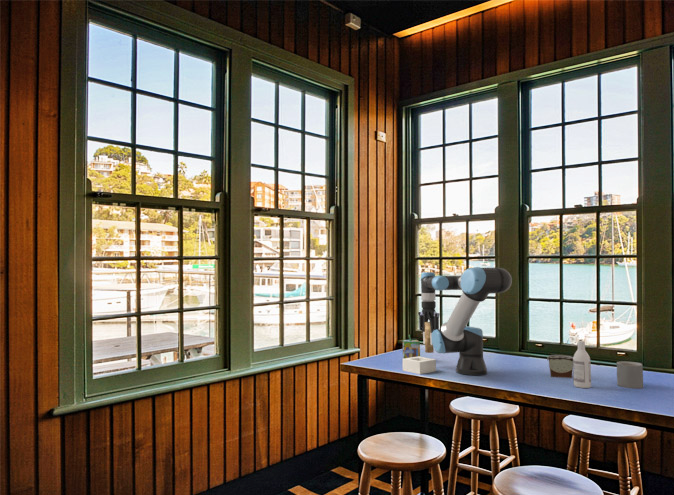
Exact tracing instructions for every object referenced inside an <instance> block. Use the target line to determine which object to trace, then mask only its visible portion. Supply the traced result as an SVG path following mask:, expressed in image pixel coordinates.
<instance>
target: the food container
mask: <svg viewBox="0 0 674 495" xmlns="http://www.w3.org/2000/svg"><path fill="white" fill-rule="evenodd" d="M573 357H574V356H571V355H564V354H550V355H548V356H547V361H548V366H549V373H550V378H560V379H561V378H562V379H573Z"/></svg>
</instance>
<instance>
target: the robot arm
mask: <svg viewBox="0 0 674 495" xmlns="http://www.w3.org/2000/svg"><path fill="white" fill-rule="evenodd" d="M420 275H421V276H420V290H421V294H420V295H421V302H420V304H421V308H422V309H421V311H418V314H417V315H418V322H419V324H418V325H419V326H418V327H419V331H421V332H422V339H423V341H422V342H423V345H425V322H430V326H431V331H432V332H431V333H430V340H431V345H433V349H434V351H435V352H436V353H437V354H454V353H459V357H458V360H457V363H456V367H455V373H457V374H461V375H467V376H483V375H487V374H488V368H487V365H486V362H485V359H484V335H483V334H484V332H483V330H482V328H480V327H476V326H468V323H469V322H470V320H471V318H472V316H473V315H474V314H475V312H476V310H477V309H478V306H479V305H480V302H484V301H486V299H487V297H488V296H489V295H490V294H501V293H505V292H507V291H508V290H509V289H510V288H511V286H512V284H513V283H512V282H513V278H512V274H510V272H509V271H507V269H505V268H502V267H479V266H475V267H469V268H467V269H465V270H464V271H463V273H462V274H461V275H436V274H435V272H426V271H425V272H424V271H423V272H422V273H421V274H420ZM436 291H438V292H439V291H462V293H461V295H460V297H459V299H458V301H457V303H456V305H455V307H454V309H453V310H452V312H451V314H450V316H449V318H448V320H447V322H444V323H442V325H441V326H440V315H441V314H440V312H436V306H437V303H436V302H437V301H436ZM439 327H440V328H439Z"/></svg>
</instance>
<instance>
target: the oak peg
mask: <svg viewBox="0 0 674 495" xmlns="http://www.w3.org/2000/svg"><path fill="white" fill-rule="evenodd" d="M431 332H432V331H431V326H430V321H428V322H425V344H424V351H425V353H428V354H432V353H434V351H435V349H434V347H433V345H431V340H430V333H431Z"/></svg>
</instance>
